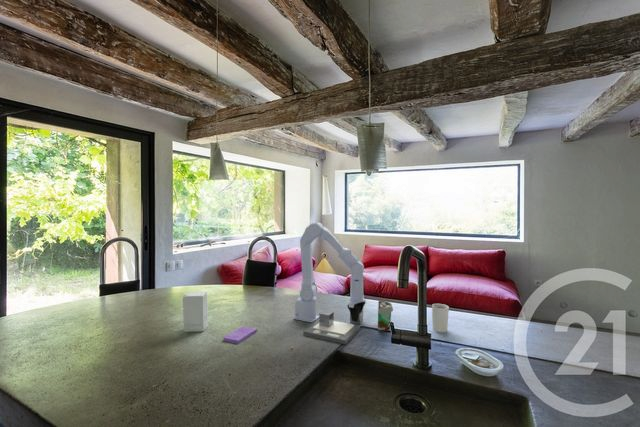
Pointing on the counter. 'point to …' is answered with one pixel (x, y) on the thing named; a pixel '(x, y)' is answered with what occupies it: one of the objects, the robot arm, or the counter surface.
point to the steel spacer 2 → (360, 318)
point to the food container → (384, 315)
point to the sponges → (240, 334)
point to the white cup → (440, 317)
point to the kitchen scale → (333, 332)
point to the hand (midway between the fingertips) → (356, 319)
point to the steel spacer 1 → (326, 318)
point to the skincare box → (195, 311)
